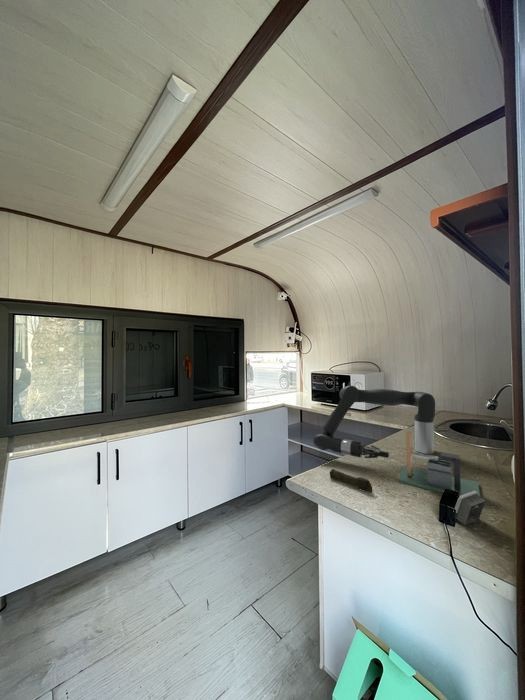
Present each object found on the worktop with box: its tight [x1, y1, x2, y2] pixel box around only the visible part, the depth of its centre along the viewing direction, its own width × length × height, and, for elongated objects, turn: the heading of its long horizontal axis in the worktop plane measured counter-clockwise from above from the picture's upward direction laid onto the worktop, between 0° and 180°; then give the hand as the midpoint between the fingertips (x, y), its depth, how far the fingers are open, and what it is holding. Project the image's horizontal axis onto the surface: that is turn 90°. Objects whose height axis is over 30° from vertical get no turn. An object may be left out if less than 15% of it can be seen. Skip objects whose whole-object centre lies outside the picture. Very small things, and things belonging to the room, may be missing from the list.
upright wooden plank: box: [405, 431, 439, 476], centre depth 117 cm, size 6×12×18 cm, turn 54°
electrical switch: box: [454, 491, 486, 526], centre depth 88 cm, size 9×5×9 cm, turn 113°
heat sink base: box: [397, 451, 481, 497], centre depth 114 cm, size 16×28×13 cm, turn 54°
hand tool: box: [329, 468, 373, 493], centre depth 114 cm, size 19×4×5 cm, turn 39°
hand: (388, 455), depth 125 cm, fingers closed
